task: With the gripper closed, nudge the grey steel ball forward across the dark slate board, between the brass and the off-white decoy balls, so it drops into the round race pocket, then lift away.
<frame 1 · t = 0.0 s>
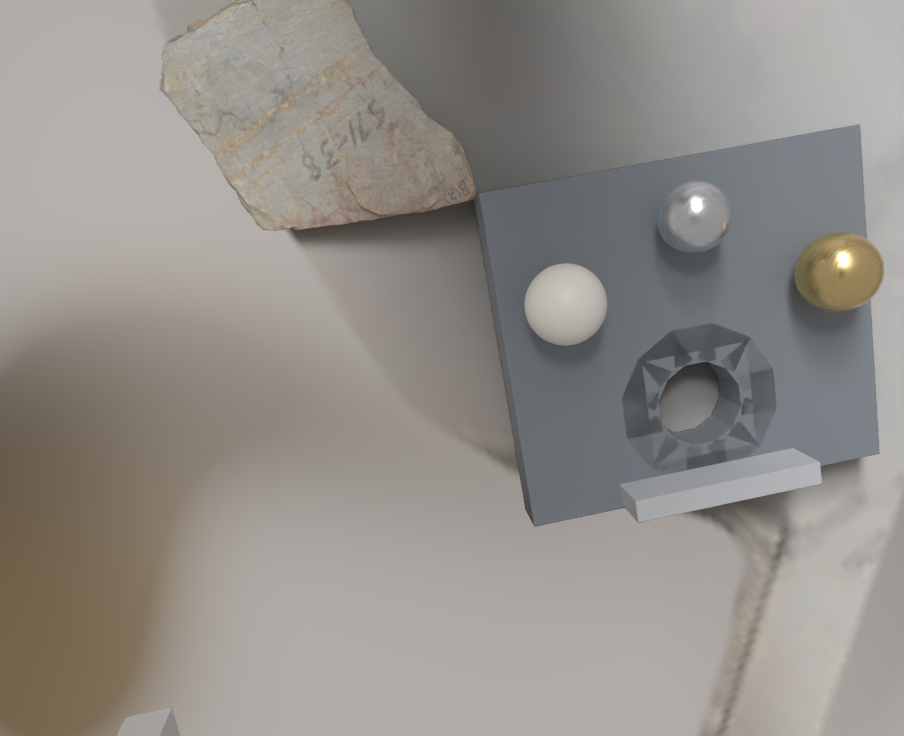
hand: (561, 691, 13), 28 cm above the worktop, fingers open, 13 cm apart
white ball: (565, 304, 35), point 4 cm above the worktop, touching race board
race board: (673, 325, 41), on the worktop
stone: (317, 101, 37), on the worktop
brass ball: (837, 272, 36), point 4 cm above the worktop, touching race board
steel ball: (694, 217, 35), point 4 cm above the worktop, touching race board
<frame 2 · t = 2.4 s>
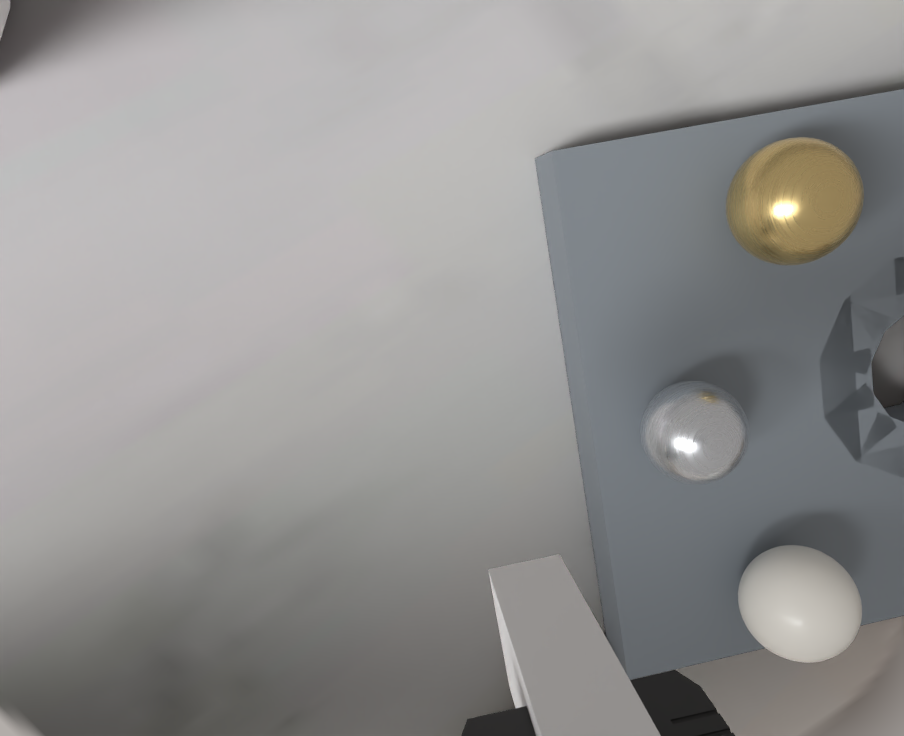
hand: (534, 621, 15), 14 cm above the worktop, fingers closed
white ball: (797, 602, 26), point 4 cm above the worktop, touching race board
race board: (789, 374, 29), on the worktop
brass ball: (792, 202, 23), point 4 cm above the worktop, touching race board
steel ball: (693, 432, 25), point 4 cm above the worktop, touching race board
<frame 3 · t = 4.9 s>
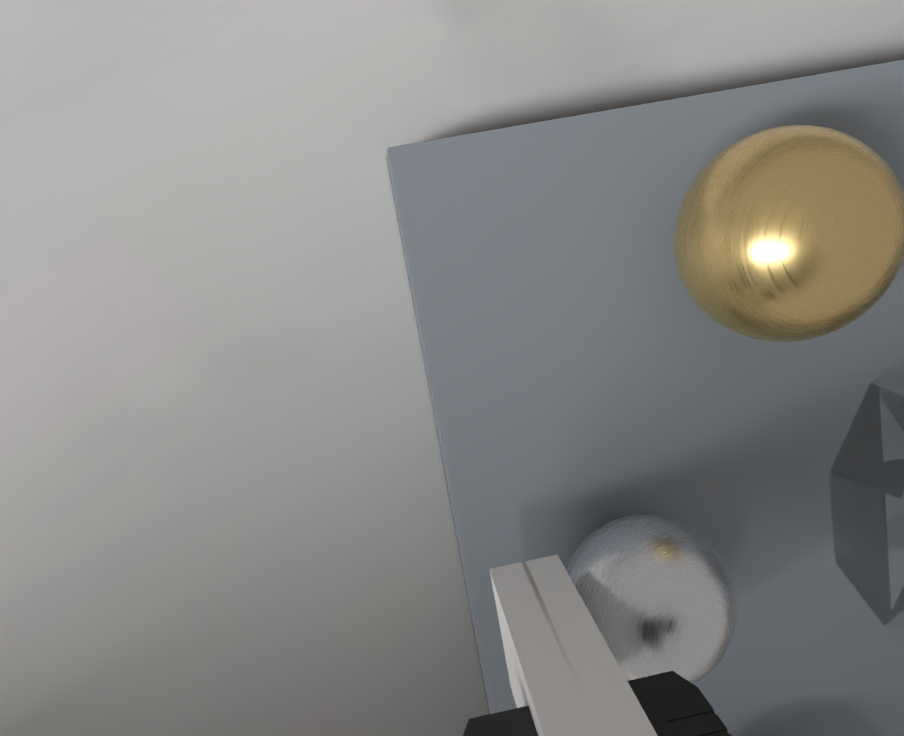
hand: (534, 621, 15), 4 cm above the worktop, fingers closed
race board: (784, 480, 20), on the worktop
brass ball: (784, 236, 14), point 4 cm above the worktop, touching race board
steel ball: (647, 600, 15), point 4 cm above the worktop, tilted 17°, touching gripper, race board
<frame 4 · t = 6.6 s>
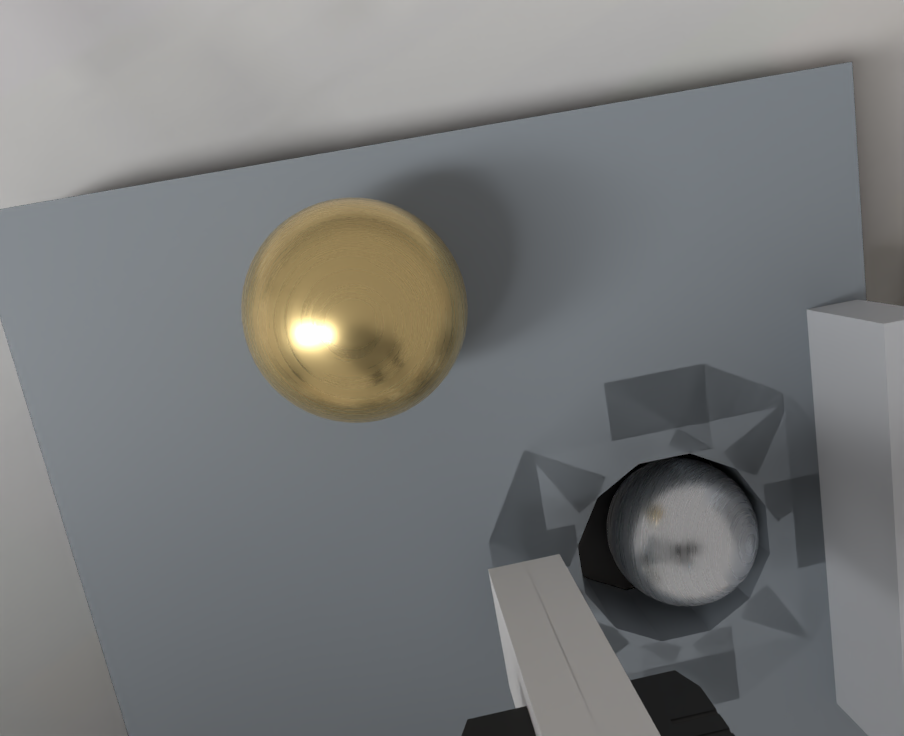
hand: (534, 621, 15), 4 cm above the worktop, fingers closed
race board: (490, 540, 19), on the worktop
brass ball: (356, 311, 13), point 4 cm above the worktop, touching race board
steel ball: (680, 530, 18), point 2 cm above the worktop, tilted 38°
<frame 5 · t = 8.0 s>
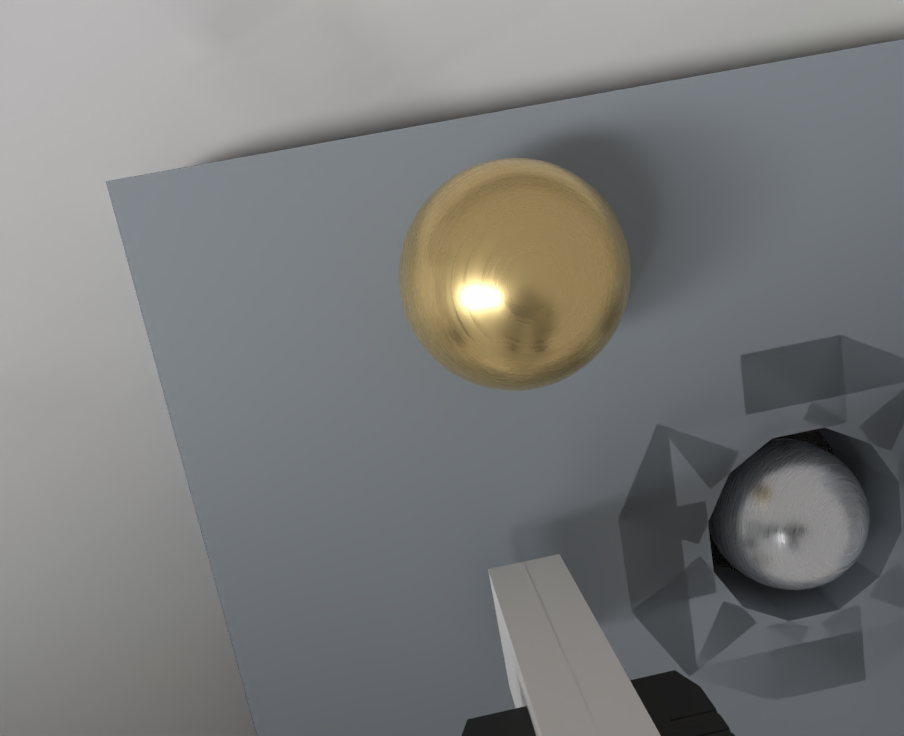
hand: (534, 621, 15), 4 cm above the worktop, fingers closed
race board: (602, 519, 19), on the worktop
brass ball: (513, 276, 13), point 4 cm above the worktop, touching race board
steel ball: (784, 512, 17), point 2 cm above the worktop, tilted 20°
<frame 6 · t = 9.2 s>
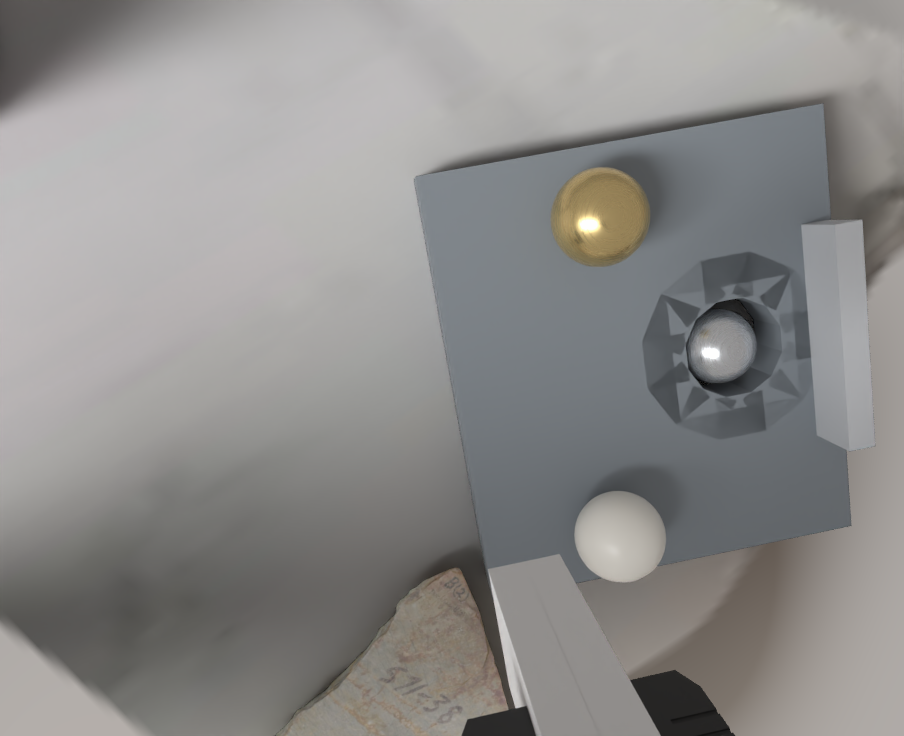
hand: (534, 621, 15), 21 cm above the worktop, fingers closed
white ball: (619, 536, 32), point 4 cm above the worktop, touching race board
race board: (632, 354, 36), on the worktop
stone: (383, 698, 39), on the worktop
brass ball: (599, 217, 30), point 4 cm above the worktop, touching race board
steel ball: (716, 346, 34), point 2 cm above the worktop, tilted 7°
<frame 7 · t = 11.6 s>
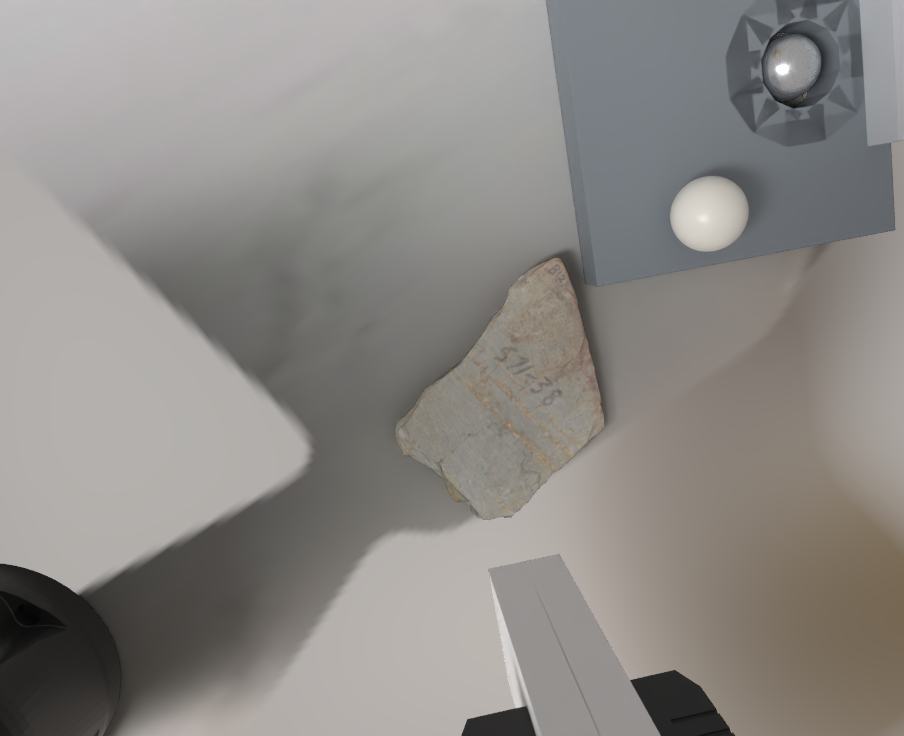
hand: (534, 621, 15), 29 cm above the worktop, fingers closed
white ball: (708, 214, 39), point 4 cm above the worktop, touching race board
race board: (711, 85, 42), on the worktop
stone: (491, 396, 45), on the worktop
steel ball: (786, 68, 41), point 2 cm above the worktop, tilted 10°
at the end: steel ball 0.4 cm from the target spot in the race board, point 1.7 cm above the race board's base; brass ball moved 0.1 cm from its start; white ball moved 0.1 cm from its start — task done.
